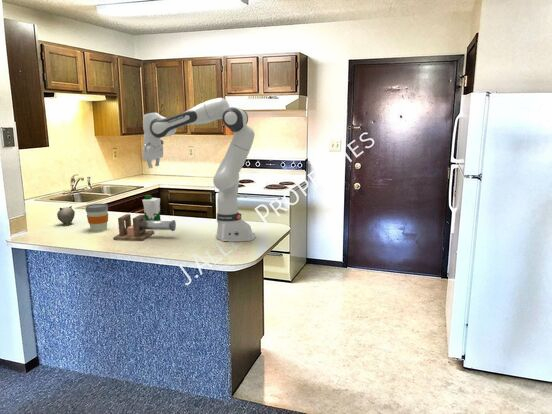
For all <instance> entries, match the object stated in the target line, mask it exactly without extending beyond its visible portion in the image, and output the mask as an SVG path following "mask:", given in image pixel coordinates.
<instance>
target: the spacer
mask: <svg viewBox="0 0 552 414" xmlns="http://www.w3.org/2000/svg"><path fill="white" fill-rule="evenodd" d="M127 235H128V236H134V230H133V224H131V226H130V227H128V228H127Z"/></svg>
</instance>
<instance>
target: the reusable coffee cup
mask: <svg viewBox="0 0 552 414" xmlns="http://www.w3.org/2000/svg"><path fill="white" fill-rule="evenodd" d="M108 206H109V205H108V204H107V203H93V204H88V205H85V212H86V218H87V222H88V224H89V228H90V231H91V232H92V231H93V233H95V232H96V233H97V232H98V233H101V232H105V231H107V230H108V222H109V213H108V212H109V211H108V210H109V207H108Z"/></svg>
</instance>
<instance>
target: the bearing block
mask: <svg viewBox="0 0 552 414" xmlns="http://www.w3.org/2000/svg"><path fill="white" fill-rule="evenodd" d="M140 220H144V221H145V215H144V214H139V215H137V216H135V217H133V218H132V217H131V214H130V213H126V214H124V215H122V216H120V217H118V218H117V221H118V222H117V223H118V234H117V235H115V236H114V237H112V239H113V241H128V242H129V241H130V242H131V241H134V242H135V241H136V242H143V241H145V240H146V239H148V238H149V237H150V236H153V234H155V230H148V229H139V221H140ZM132 225H133V230H134V236H128V235H127V228H128V227H130V226H132Z"/></svg>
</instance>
